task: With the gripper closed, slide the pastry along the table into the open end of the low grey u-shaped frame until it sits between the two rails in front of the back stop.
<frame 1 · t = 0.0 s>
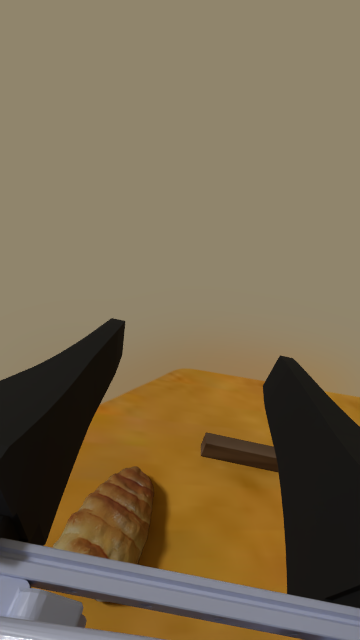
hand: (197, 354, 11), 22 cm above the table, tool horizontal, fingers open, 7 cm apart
grey u-shaped frame: (289, 567, 23), on the table
pastry: (108, 533, 23), on the table
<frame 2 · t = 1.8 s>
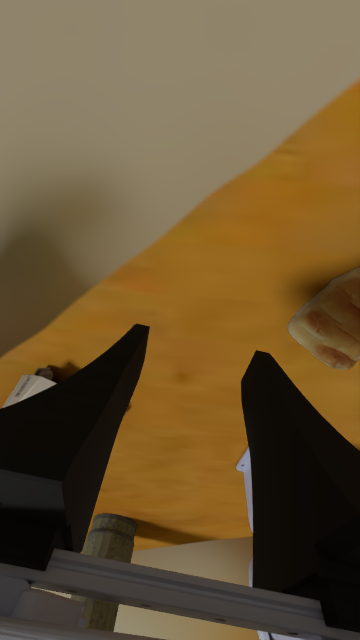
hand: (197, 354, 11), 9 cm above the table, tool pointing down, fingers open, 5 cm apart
pastry: (341, 305, 20), on the table
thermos: (115, 521, 49), on the table
newspaper: (34, 436, 36), on the table
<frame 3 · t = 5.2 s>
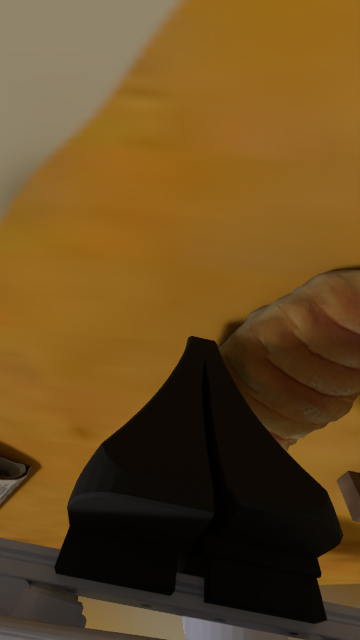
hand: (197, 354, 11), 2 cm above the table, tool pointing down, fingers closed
pastry: (276, 347, 13), on the table, touching gripper
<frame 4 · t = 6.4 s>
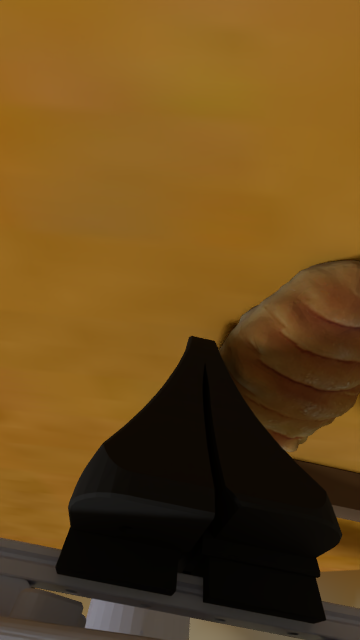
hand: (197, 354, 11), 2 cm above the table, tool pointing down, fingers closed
pastry: (275, 346, 13), on the table, touching gripper
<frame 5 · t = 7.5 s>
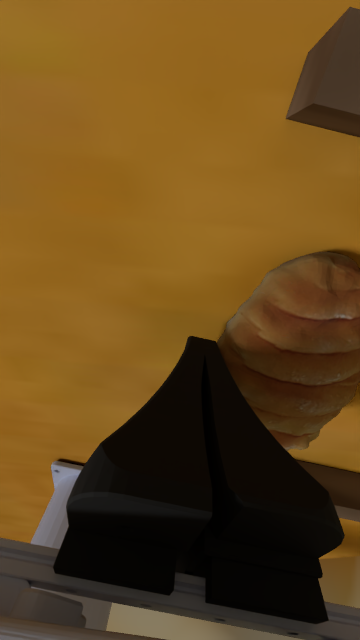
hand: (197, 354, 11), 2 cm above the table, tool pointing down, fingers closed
pastry: (271, 345, 13), on the table
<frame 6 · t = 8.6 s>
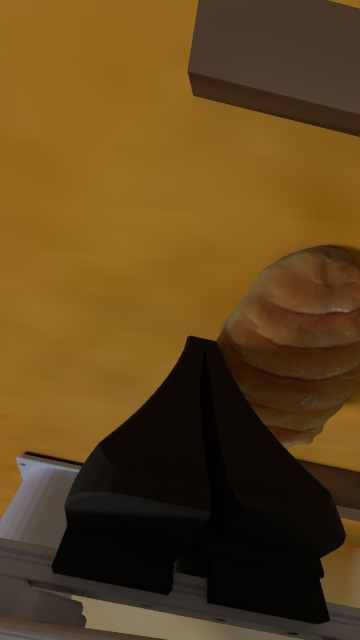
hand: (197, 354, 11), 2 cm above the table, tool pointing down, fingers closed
grey u-shaped frame: (312, 360, 13), on the table
pastry: (271, 341, 13), on the table, touching gripper
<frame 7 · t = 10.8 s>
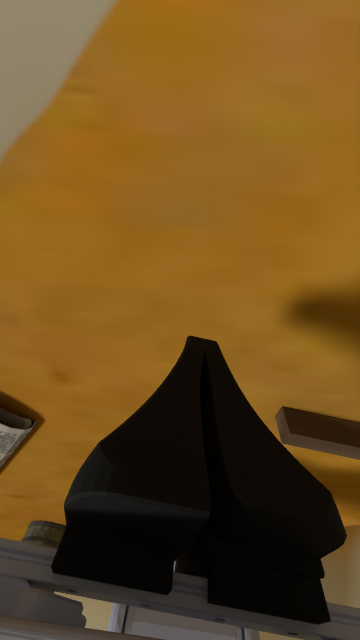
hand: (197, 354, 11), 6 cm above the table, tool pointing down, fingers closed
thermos: (53, 529, 47), on the table
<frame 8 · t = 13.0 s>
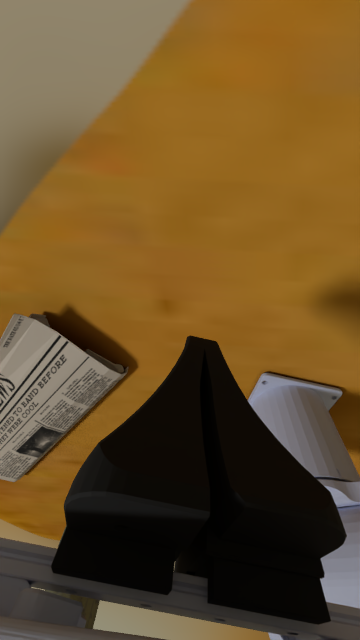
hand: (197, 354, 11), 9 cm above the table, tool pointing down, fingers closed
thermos: (101, 502, 45), on the table
newspaper: (24, 405, 32), on the table
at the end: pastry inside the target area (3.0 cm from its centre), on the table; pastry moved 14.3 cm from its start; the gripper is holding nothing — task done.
